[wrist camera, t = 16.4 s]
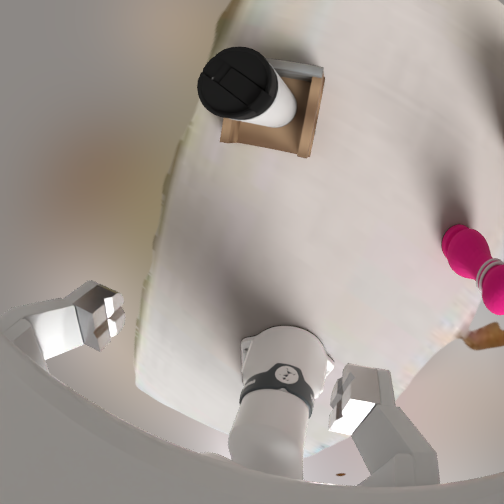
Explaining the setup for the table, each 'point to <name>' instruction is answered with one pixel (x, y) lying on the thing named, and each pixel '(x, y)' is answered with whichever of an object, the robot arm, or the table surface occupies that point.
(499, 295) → the pepper mill
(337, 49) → the table surface
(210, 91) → the travel mug
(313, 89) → the cradle
